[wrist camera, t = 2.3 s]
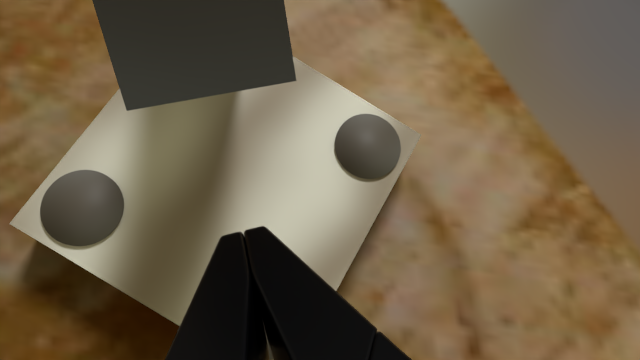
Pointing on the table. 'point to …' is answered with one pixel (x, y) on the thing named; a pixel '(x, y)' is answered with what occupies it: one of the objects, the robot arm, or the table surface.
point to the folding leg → (194, 47)
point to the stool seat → (219, 184)
